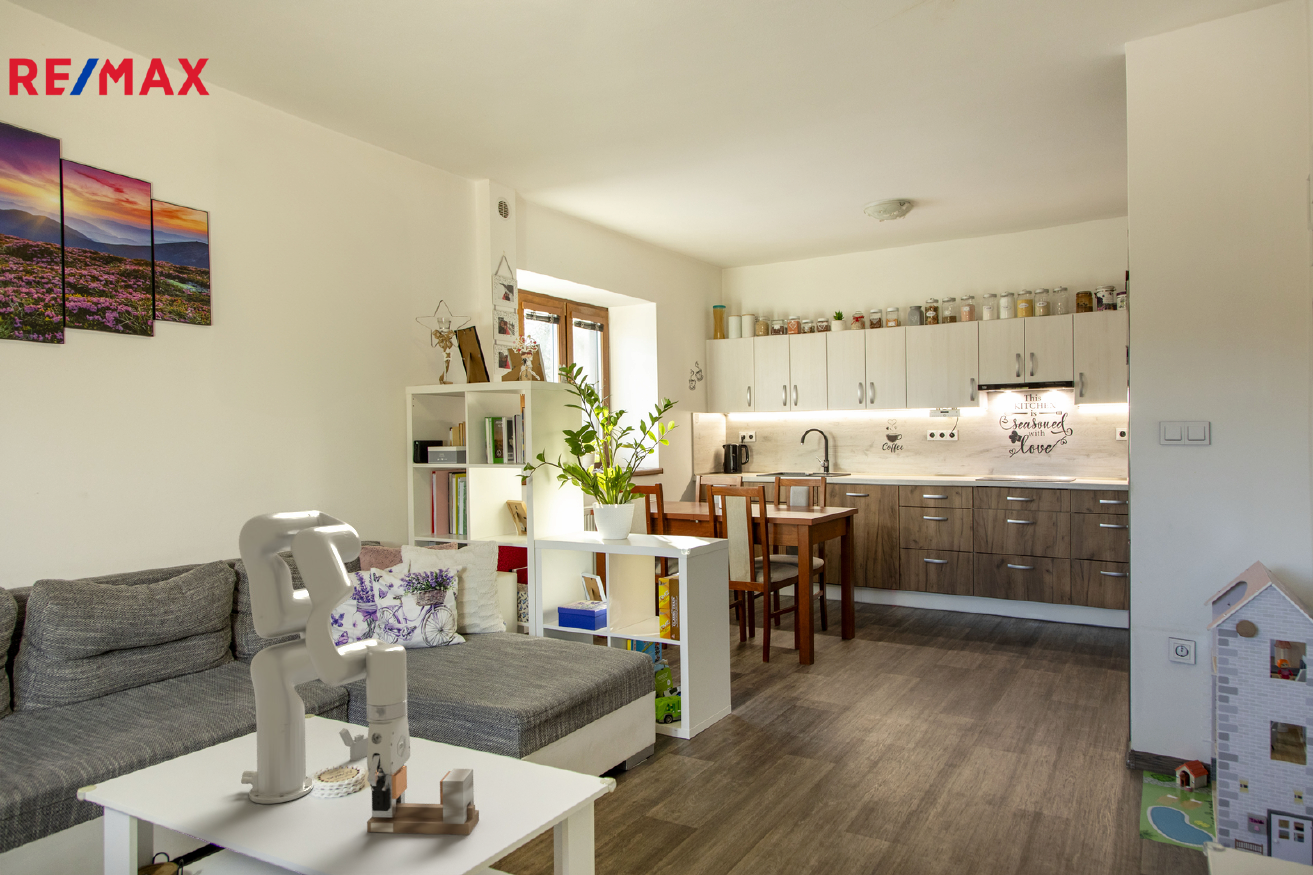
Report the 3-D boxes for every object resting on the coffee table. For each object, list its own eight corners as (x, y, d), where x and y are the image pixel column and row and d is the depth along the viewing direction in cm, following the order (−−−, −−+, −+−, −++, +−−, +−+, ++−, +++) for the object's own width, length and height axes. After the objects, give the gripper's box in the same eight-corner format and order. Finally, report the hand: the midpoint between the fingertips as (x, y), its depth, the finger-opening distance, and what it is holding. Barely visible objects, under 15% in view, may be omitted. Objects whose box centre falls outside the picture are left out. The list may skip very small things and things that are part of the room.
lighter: (363, 754, 198) (363, 720, 199) (368, 755, 198) (368, 721, 198) (339, 764, 192) (338, 729, 192) (344, 765, 192) (343, 730, 192)
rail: (366, 832, 157) (366, 779, 157) (380, 818, 163) (380, 767, 163) (468, 835, 155) (467, 781, 155) (479, 820, 161) (478, 769, 161)
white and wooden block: (372, 816, 157) (371, 774, 157) (385, 803, 163) (384, 762, 163) (395, 817, 157) (395, 775, 157) (408, 803, 163) (407, 763, 163)
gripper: (386, 724, 151) (388, 823, 151) (422, 696, 168) (423, 785, 168) (347, 724, 152) (349, 822, 152) (387, 696, 169) (388, 784, 169)
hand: (388, 801), depth 160 cm, fingers closed on white and wooden block, 5 cm apart
